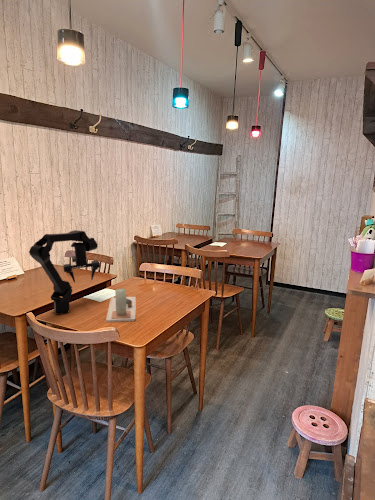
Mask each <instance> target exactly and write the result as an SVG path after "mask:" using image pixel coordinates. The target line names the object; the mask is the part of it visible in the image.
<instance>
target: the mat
mask: <svg viewBox="0 0 375 500" xmlns="http://www.w3.org/2000/svg"><path fill="white" fill-rule="evenodd" d="M126 313H127V314H126V315H124V316H117V315H116V311H113V312H112V317H111V319H120V318H130V313H131V311H126Z"/></svg>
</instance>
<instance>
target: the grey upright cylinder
mask: <svg viewBox="0 0 375 500" xmlns="http://www.w3.org/2000/svg"><path fill="white" fill-rule="evenodd" d="M114 293H115V294H114V295H115V297H116V315H117V316H124V315H126V314H127V313H126V297H127V289H126V288H123V287H122V288H115V292H114Z"/></svg>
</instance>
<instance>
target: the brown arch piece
mask: <svg viewBox="0 0 375 500" xmlns="http://www.w3.org/2000/svg"><path fill="white" fill-rule="evenodd" d="M127 304H128V307H129V308H130V307H132V301H131V300H129V299H126V305H127Z"/></svg>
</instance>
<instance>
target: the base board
mask: <svg viewBox="0 0 375 500" xmlns="http://www.w3.org/2000/svg"><path fill="white" fill-rule="evenodd" d="M126 299H129V300H131V301H132V307H130V308H129V307H128V304H127V305H126V311H131V313H130V318H120V319H111V317H112V312H113V311H116V296H115V297H114V296H113V297H110V300H109V306H108V310H107V314H106V318H105V323H112V322H113V323H116V322H119V323H121V322H136V311H137V310H136V306H137V305H136V303H137V301H136V300H137V296H126Z"/></svg>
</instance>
